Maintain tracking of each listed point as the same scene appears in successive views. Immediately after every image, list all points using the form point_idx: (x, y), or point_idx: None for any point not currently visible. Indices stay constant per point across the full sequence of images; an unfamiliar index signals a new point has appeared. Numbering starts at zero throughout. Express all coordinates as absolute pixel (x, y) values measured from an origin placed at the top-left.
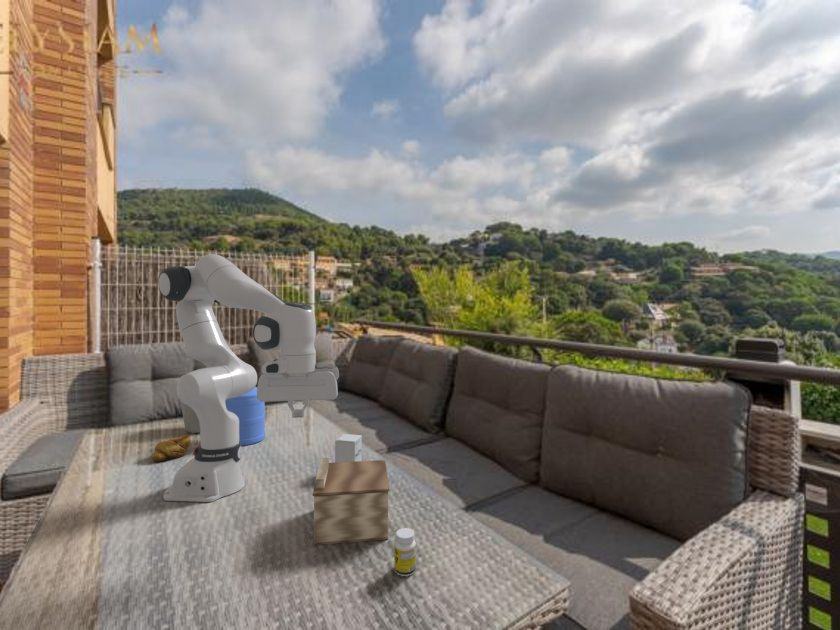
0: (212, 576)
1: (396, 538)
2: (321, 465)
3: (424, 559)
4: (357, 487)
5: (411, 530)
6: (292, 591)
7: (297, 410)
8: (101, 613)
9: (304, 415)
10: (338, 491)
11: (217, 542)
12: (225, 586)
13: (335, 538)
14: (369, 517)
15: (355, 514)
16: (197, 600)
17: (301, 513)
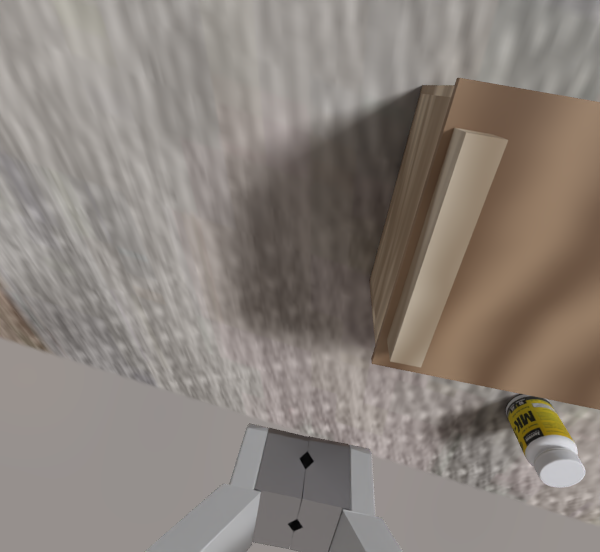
0: (175, 310)
1: (535, 464)
2: (441, 239)
3: None
4: (531, 374)
5: (581, 472)
6: (318, 388)
7: (283, 526)
8: (42, 338)
9: (368, 455)
10: (457, 378)
11: (143, 195)
12: (206, 342)
13: None
14: None
15: None
16: (171, 358)
17: (352, 104)
